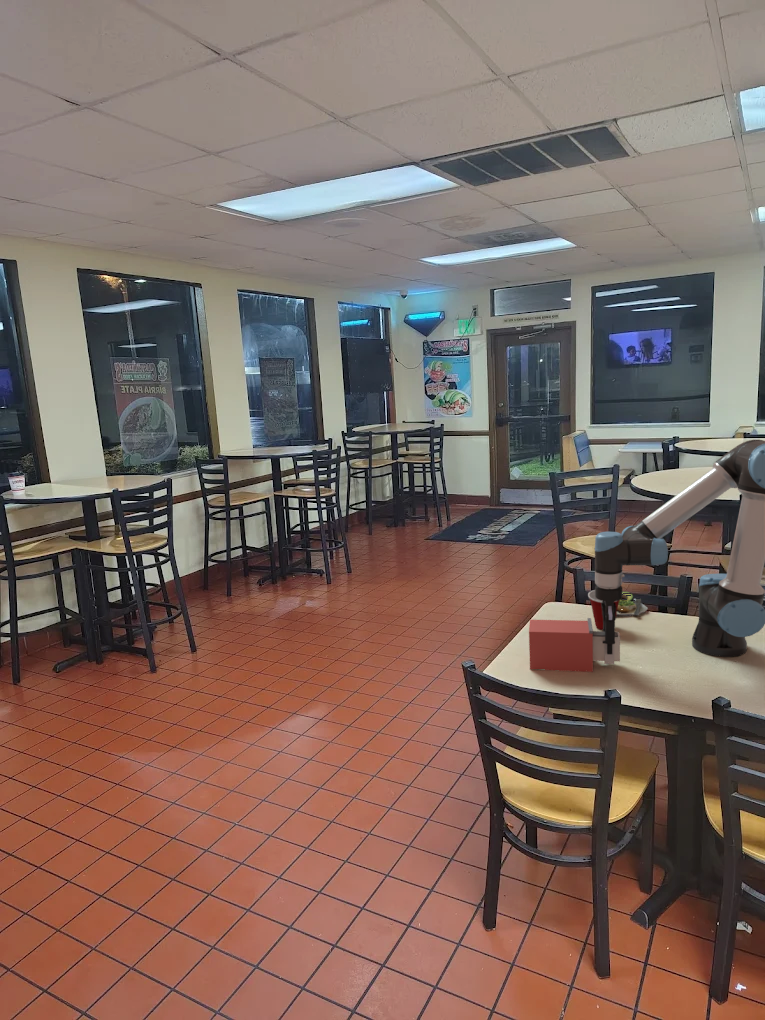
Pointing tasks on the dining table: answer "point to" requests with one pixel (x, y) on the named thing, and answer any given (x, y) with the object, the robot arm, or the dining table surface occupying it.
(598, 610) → the plastic cup
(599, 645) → the white rectangular block
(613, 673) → the dining table surface
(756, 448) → the robot arm
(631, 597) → the salad plate
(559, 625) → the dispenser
